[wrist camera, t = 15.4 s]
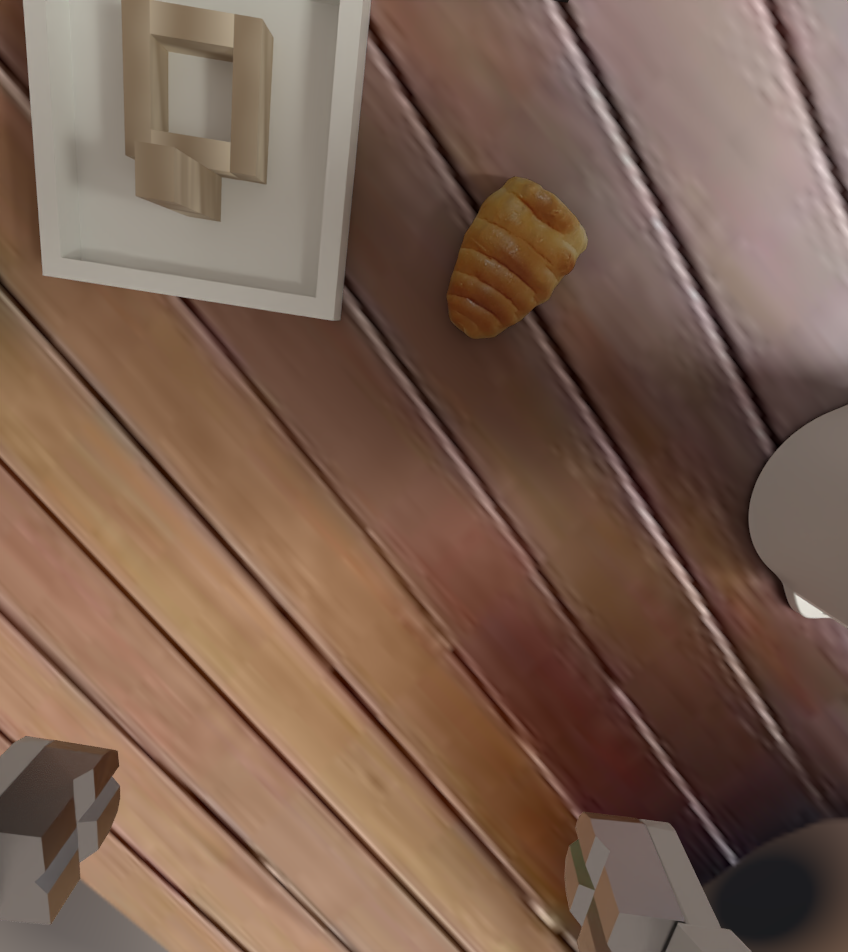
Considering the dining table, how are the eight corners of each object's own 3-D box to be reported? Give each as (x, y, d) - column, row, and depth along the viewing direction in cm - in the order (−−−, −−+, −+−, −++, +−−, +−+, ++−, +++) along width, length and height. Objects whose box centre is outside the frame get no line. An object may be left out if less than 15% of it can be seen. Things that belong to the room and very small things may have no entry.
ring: (273, 37, 29) (234, -29, 23) (264, 228, 32) (227, 210, 27) (141, 15, 29) (69, -58, 23) (144, 209, 32) (81, 187, 26)
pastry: (499, 359, 35) (506, 365, 32) (419, 299, 34) (417, 297, 31) (590, 237, 33) (609, 228, 29) (506, 169, 32) (515, 150, 28)
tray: (372, -10, 29) (366, -39, 27) (340, 320, 34) (333, 320, 32) (50, -66, 28) (15, -100, 26) (70, 277, 34) (42, 275, 32)
